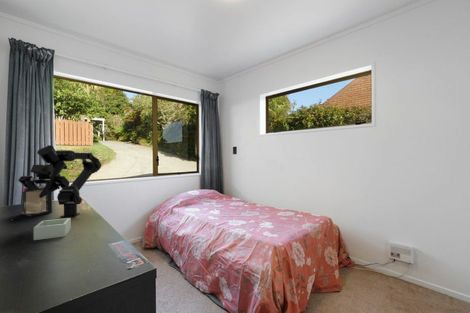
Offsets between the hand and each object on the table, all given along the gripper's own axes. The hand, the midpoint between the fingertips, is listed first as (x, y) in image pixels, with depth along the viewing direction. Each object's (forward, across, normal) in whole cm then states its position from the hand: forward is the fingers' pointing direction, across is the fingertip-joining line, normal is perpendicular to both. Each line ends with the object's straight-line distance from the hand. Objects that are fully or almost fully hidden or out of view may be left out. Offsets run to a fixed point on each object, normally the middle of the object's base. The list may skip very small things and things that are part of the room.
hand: (33, 197), depth 94 cm
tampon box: (-10, -21, +30) cm, 38 cm away
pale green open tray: (+14, +12, +6) cm, 19 cm away
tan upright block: (+4, 0, +6) cm, 7 cm away
